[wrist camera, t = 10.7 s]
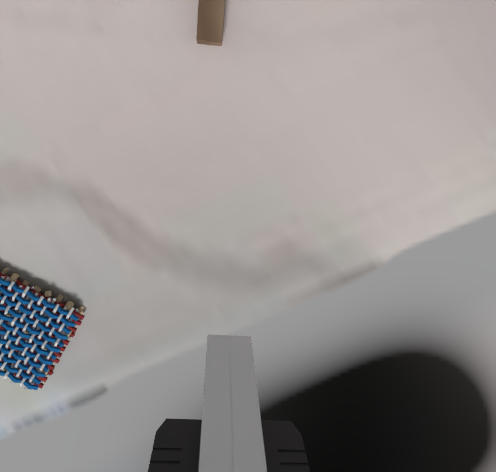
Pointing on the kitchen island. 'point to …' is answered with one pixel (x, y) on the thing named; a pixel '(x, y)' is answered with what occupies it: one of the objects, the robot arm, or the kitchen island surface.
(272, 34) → the kitchen island surface
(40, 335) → the woven mat
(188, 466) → the robot arm
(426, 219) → the kitchen island surface
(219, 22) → the walnut T rail
